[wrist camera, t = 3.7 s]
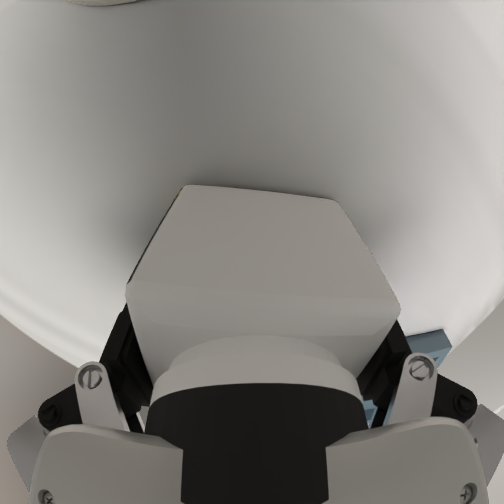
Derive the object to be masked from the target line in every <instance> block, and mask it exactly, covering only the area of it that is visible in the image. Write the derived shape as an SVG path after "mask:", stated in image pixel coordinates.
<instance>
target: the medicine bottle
mask: <svg viewBox="0 0 504 504" xmlns="http://www.w3.org/2000/svg"><path fill="white" fill-rule="evenodd" d="M125 297H126V301H127V305H128V309H129V313H130V317H131V320H132V324H133V327H134V331H135V334H136V337H137V341H138V344H139V347H140V350H141V353H142V356H143V359H144V362H145V365H146V368H147V371H148V374H149V376H150V379H151V382H152V384H153V387H154V388H153V393H152V397H151V402H150V406H149V411H148V416H147V422H146V427H145V431H144V434H146V435H153V436H159V437H161V438H162V439H164V440H166V441H167V442H169V443H171V444H172V445H174V446H176V447H178V448H180V449H182V450H183V459H182V477H181V502H182V503H184V504H322V503H324V502H326V501H327V500H329V489H328V473H327V458H326V447H328V446H330V445H331V444H333V443H335V442H337V441H338V440H340V439H342V438H344V437H345V436H346V435H348V434H349V433H352V432H357V431H362V430H367V429H369V428H368V424H367V419H366V415H365V411H364V407H363V403H362V399H361V395H360V391H359V387H358V383H357V381H356V378H357V377H358V376H359V374H360V373H361V372H362V370H363V369H364V368H365V366H366V365H367V363H368V362H369V361H370V359H371V358H372V356H373V355H374V353H375V352H376V351H377V349H378V348H379V346H380V345H381V343H382V342H383V340H384V339H385V337H386V335H387V334H388V332H389V331H390V329H391V328H392V326H393V324H394V323H395V321H396V319H397V318H398V316H399V314H400V311H401V308H400V304H399V302H398V300H397V298H396V296H395V294H394V292H393V291H392V289H391V287H390V285H389V283H388V282H387V280H386V278H385V276H384V275H383V273H382V271H381V269H380V268H379V266H378V264H377V263H376V261H375V259H374V258H373V256H372V254H371V253H370V251H369V249H368V248H367V246H366V245H365V243H364V241H363V240H362V238H361V237H360V235H359V234H358V232H357V231H356V229H355V227H354V226H353V224H352V223H351V221H350V220H349V218H348V217H347V215H346V214H345V212H344V211H343V209H342V208H341V207H340V205H339V204H338V202H336V201H334V200H329V199H323V198H316V197H309V196H301V195H293V194H285V193H277V192H268V191H259V190H249V189H239V188H228V187H216V186H203V185H185V186H184V187H183V188H181V190H180V191H179V193H178V195H177V196H176V198H175V199H174V201H173V203H172V204H171V206H170V207H169V209H168V211H167V212H166V214H165V216H164V217H163V219H162V221H161V222H160V224H159V226H158V228H157V229H156V231H155V233H154V234H153V236H152V238H151V240H150V241H149V243H148V245H147V247H146V249H145V250H144V252H143V254H142V256H141V258H140V260H139V261H138V263H137V265H136V267H135V269H134V271H133V273H132V275H131V277H130V279H129V281H128V283H127V284H126V291H125Z"/></svg>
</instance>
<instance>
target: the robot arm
mask: <svg viewBox="0 0 504 504" xmlns="http://www.w3.org/2000/svg"><path fill="white" fill-rule="evenodd" d="M67 1H69V2H72V3H77V4H82V5H87V6H108V5H114V4H121V3H129V2H133V1H137V0H67ZM356 381H357V383H358V387H359V391H360V395H362V397H363V401H368V400H372V401H373V405H375V409H374V412H373V415H372V417H371V420H370V423H369V425H368V428H369V429H367V430H362V431H357V432H352V433H349V434H348V435H346V436H345V437H344V438H342V439H340V440H338V441H337V442H335V443H333V444H331V445H330V446H328V447H326V458H327V473H328V489H329V500H327V501H326V502H324V503H322V504H489V500H488V493H487V486H488V484H489V482H490V480H491V478H492V476H493V474H494V472H495V470H496V468H497V466H498V464H499V462H500V460H501V458H502V455H503V453H504V420H503V419H502V418H500V417H499V416H497V415H496V414H495V413H493V412H492V411H490V410H489V409H488V408H486V407H485V406H484V405H482V404H480V405H477V399H476V397H475V395H474V394H473V392H472V391H470V390H469V389H467V388H465V387H463V386H461V385H459V384H457V383H455V382H453V381H451V380H449V379H447V378H445V377H443V376H442V375H440V374H438V370H437V365H436V363H435V361H434V360H433V359H432V358H431V357H430V356H429V355H427V354H424V353H419V352H418V353H412V351H411V349H410V347H409V344H408V342H407V340H406V338H405V335H404V333H403V331H402V329H401V327H400V325H399V323H398V320H397V319H396V321H395V323H394V324H393V326H392V328H391V329H390V331H389V332H388V334H387V335H386V337H385V339H384V340H383V342H382V343H381V345H380V346H379V348H378V349H377V351H376V352H375V353H374V355H373V356H372V358H371V359H370V361H369V362H368V363H367V365H366V366H365V368H364V369H363V370H362V372H361V373H360V374H359V376H358V377H357V378H356ZM153 388H154V387H153V384H152V382H151V379H150V376H149V374H148V371H147V368H146V365H145V362H144V359H143V356H142V353H141V350H140V347H139V344H138V341H137V337H136V334H135V331H134V327H133V324H132V320H131V317H130V313H129V309H128V305H127V302H126V305H125V307H124V309H123V311H122V312H120V314H119V315H118V318H117V320H116V322H115V324H114V327H113V329H112V331H111V334H110V336H109V338H108V341H107V343H106V346H105V348H104V351H103V353H102V356H101V358H100V361H99V362H93V361H92V362H87V363H85V364H83V365H82V366H81V367H80V368H79V369H78V371H77V372H76V375H75V384H73V385H71V386H70V387H68V388H66V389H65V390H63V391H61V392H59V393H58V394H56V395H54V396H53V397H51V398H49V399H47V400H46V401H45V402H43V403H42V405H41V406H40V408H39V411H38V416H37V417H36V416H35V415H34V416H33V417H31V418H30V419H29V420H28V421H27V422H25V423H24V424H23V425H22V426H20V427H19V428H18V429H17V430H15V431H14V432H13V433H12V434H11V435H10V436H9V437H8V440H7V447H8V451H9V453H10V455H11V457H12V460H13V462H14V464H15V466H16V468H17V470H18V472H19V474H20V476H21V478H22V480H23V482H24V484H25V485H26V487H27V489H28V491H29V492H30V494H29V503H28V504H184V503H182V502H181V477H182V459H183V450H182V449H180V448H178V447H176V446H174V445H172V444H171V443H169V442H167V441H166V440H164V439H162V438H161V437H159V436H153V435H146V434H144V431H145V426H144V424H143V422H142V419H141V417H140V414H139V411H140V409H141V406H148V407H149V406H150V402H151V397H152V393H153Z"/></svg>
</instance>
